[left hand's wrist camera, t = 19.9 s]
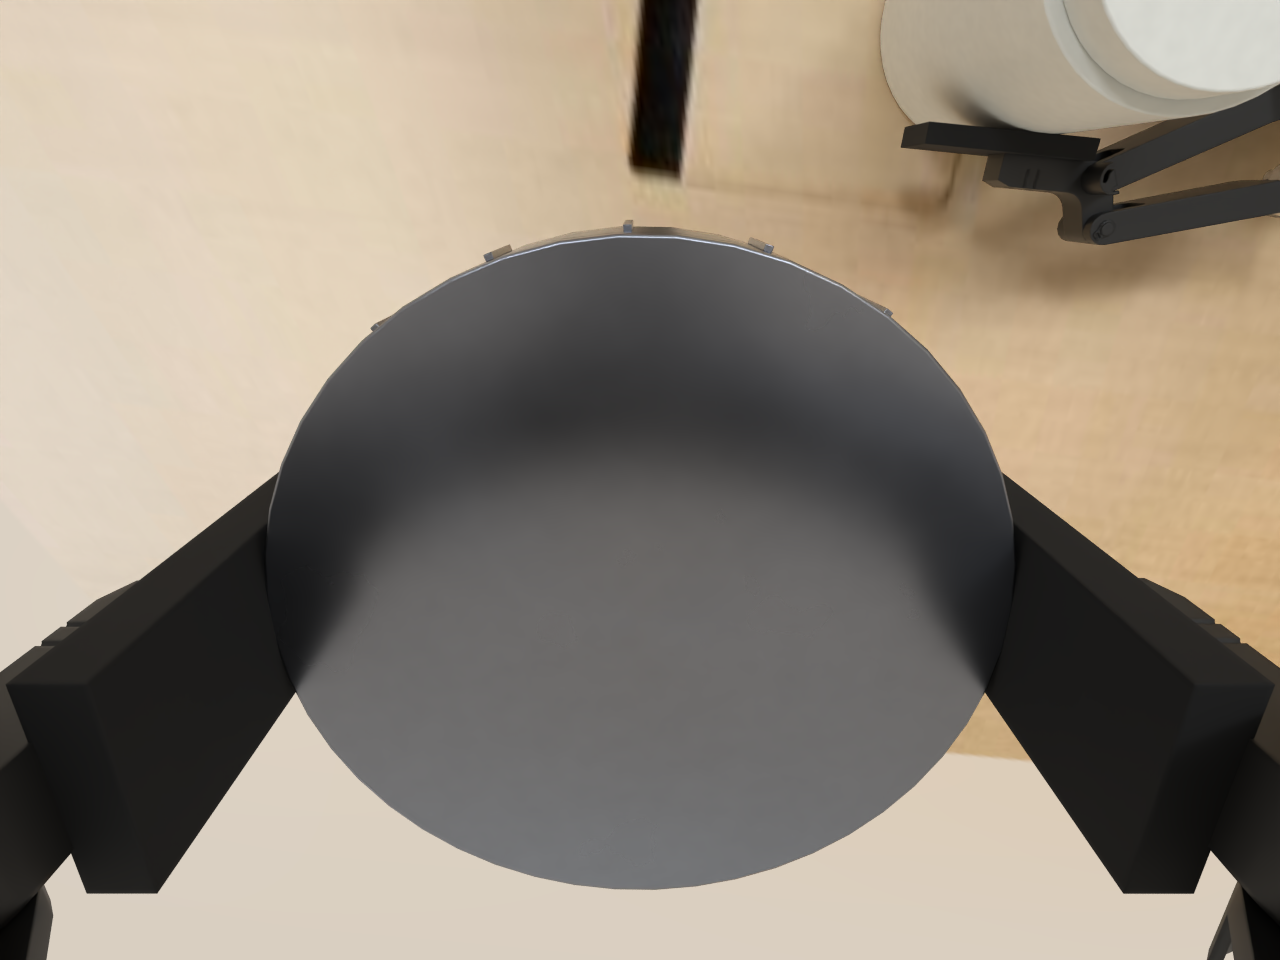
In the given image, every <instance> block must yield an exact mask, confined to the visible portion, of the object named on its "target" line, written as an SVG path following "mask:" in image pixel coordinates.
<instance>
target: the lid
mask: <svg viewBox="0 0 1280 960" xmlns="http://www.w3.org/2000/svg"><path fill="white" fill-rule="evenodd" d="M773 248H774V246H772V245H769V244H767V243H764V242H762V241H760V240H757V239H754V238H751V237H750V239H749V242H748V243H744V242H741V241H738V240H734V239H731V238H728V237H725V236H721V235H717V234H710V233H704V232H698V231H691V230H685V229H679V228H672V227H633V220H626V221H625V222H624V224H623V226H621V227H613V228H605V229H596V230H588V231H580V232H572V233H569V234H565V235H561V236H557V237H554V238H550V239H546V240H542V241H539V242H535V243H531V244H528V245H525V246H522V247H520V248H518V249H515V250H513V251H512V249H511V246H510V245H507V246H505V247H502V248H500V249H497V250H495V251H492V252H490V253H487V254H485V255H484V258H485V260H486V262H485V263H482V264H480V265H478V266H476V267H473V268H471V269H469V270H467V271H465V272H462V273H460V274H458V275H456V276H454V277H451V278H449V279H448V280H446V281H444V282H443V283H441V284H439V285H438V286H436V287H435V288H433V289H431V290H430V291H428V292H426V293H425V294H423V295H421V296H420V297H418V298H416V299H415V300H413V301H411V302H410V303H408V304H406V305H405V306H403V307H402V308H401V309H399V310H398V311H397V312H396V313H395V314H393V315H392V316H390V317H388V318H386V319H383V320H381V321H379V322H377V323H375V324H374V325H373V326H372V327H371V330H372V331H373V332H372V333H371V334H369V335H368V336H367V337H366V338H364V339H363V340H362V341H361V342H360V343H359V344H358V346H357V347H356V348H355V349H354V350H353V351H352V352H351V353H350V354H349V356H348V357H347V358H346V359H345V360H344V361H343V362H342V363H341V365H340V366H339V367H338V368H337V369H336V370H335V371H334V372H333V374H332V375H331V376H330V377H329V378H328V379H327V381H326V382H325V384H324V385H323V387H322V388H321V390H320V392H319V393H318V395H317V396H316V398H315V399H314V401H313V402H312V404H311V405H310V407H309V408H308V410H307V412H306V413H305V415H304V416H303V418H302V419H301V421H300V423H299V425H298V428H297V430H296V432H295V434H294V437H293V439H292V441H291V443H290V446H289V448H288V450H287V452H286V455H285V457H284V459H283V461H282V464H281V467H280V471H279V474H278V478H277V482H276V486H275V489H274V493H273V497H272V501H271V504H270V508H269V517H268V526H267V536H266V545H265V574H266V593H267V598H268V603H269V608H270V612H271V617H272V622H273V626H274V631H275V636H276V640H277V644H278V648H279V652H280V655H281V658H282V660H283V663H284V666H285V669H286V672H287V674H288V677H289V680H290V681H291V683H292V685H293V687H294V689H295V691H296V693H297V695H298V697H299V699H300V701H301V703H302V704H303V707H304V709H305V710H306V712H307V714H308V716H309V717H310V719H311V720H312V722H313V723H314V724H315V726H316V727H317V729H318V730H319V732H320V733H321V734H322V736H323V738H324V739H325V740H326V742H327V743H328V745H329V746H330V748H331V749H332V750H333V751H334V752H335V753H336V755H337V756H338V757H339V758H340V759H341V760H342V761H343V762H344V763H345V764H346V766H347V767H348V768H349V769H350V770H351V771H352V772H353V773H354V775H355V776H356V777H357V778H358V779H359V780H360V781H361V782H362V783H364V784H365V785H366V786H367V787H368V788H369V789H370V790H372V791H373V792H374V793H375V794H376V795H377V796H378V797H380V798H381V799H382V800H383V801H384V802H385V803H386V804H387V805H389V806H390V807H391V808H393V809H394V810H396V811H397V812H399V813H400V814H401V815H403V816H404V817H406V818H407V819H409V820H410V821H411V822H413V823H414V824H416V825H417V826H419V827H420V828H421V829H423V830H425V831H427V832H428V833H430V834H432V835H434V836H436V837H438V838H439V839H441V840H443V841H445V842H447V843H448V844H450V845H452V846H454V847H456V848H458V849H460V850H462V851H464V852H467V853H469V854H472V855H474V856H476V857H479V858H481V859H483V860H486V861H488V862H491V863H493V864H495V865H499V866H502V867H505V868H508V869H511V870H515V871H518V872H521V873H524V874H527V875H531V876H534V877H539V878H544V879H548V880H553V881H558V882H563V883H568V884H573V885H581V886H590V887H599V888H609V889H645V890H657V889H669V888H681V887H693V886H700V885H706V884H712V883H717V882H723V881H728V880H733V879H738V878H742V877H745V876H749V875H752V874H756V873H759V872H763V871H767V870H770V869H773V868H777V867H779V866H782V865H784V864H787V863H789V862H792V861H794V860H797V859H800V858H802V857H805V856H807V855H810V854H812V853H814V852H816V851H818V850H820V849H822V848H824V847H826V846H828V845H830V844H832V843H834V842H836V841H838V840H840V839H842V838H844V837H845V836H847V835H849V834H851V833H852V832H854V831H855V830H857V829H858V828H860V827H861V826H863V825H864V824H866V823H867V822H869V821H871V820H872V819H874V818H875V817H877V816H878V815H880V814H881V813H883V812H884V811H885V810H886V809H888V808H889V807H890V806H891V805H892V804H894V803H895V802H896V801H897V800H898V799H900V798H901V797H902V796H903V795H905V794H906V793H907V792H908V791H909V790H911V789H912V788H913V787H914V786H915V785H916V784H917V783H918V782H919V781H920V780H921V779H922V778H923V777H924V776H925V775H926V774H927V773H928V771H929V770H930V769H931V768H932V767H933V766H934V765H935V764H936V763H937V762H938V761H939V760H940V759H941V758H942V757H943V756H944V754H945V753H946V752H947V750H948V749H949V747H950V746H951V745H952V743H953V742H954V741H955V739H956V738H957V737H958V735H959V734H960V733H961V731H962V730H963V729H964V727H965V726H966V725H967V723H968V721H969V720H970V718H971V716H972V714H973V712H974V711H975V709H976V707H977V705H978V703H979V702H980V700H981V698H982V696H983V695H984V693H985V691H986V689H987V687H988V685H989V682H990V680H991V677H992V675H993V672H994V669H995V667H996V664H997V662H998V659H999V657H1000V654H1001V651H1002V647H1003V643H1004V638H1005V634H1006V629H1007V625H1008V620H1009V616H1010V611H1011V606H1012V601H1013V594H1014V582H1015V570H1016V558H1015V544H1014V529H1013V518H1012V514H1011V509H1010V505H1009V501H1008V496H1007V492H1006V487H1005V483H1004V479H1003V475H1002V472H1001V470H1000V467H999V465H998V462H997V460H996V457H995V455H994V452H993V450H992V447H991V445H990V442H989V440H988V437H987V434H986V432H985V430H984V428H983V427H982V425H981V423H980V422H979V420H978V418H977V417H976V415H975V413H974V412H973V410H972V408H971V407H970V405H969V403H968V402H967V400H966V398H965V396H964V395H963V393H962V391H961V390H960V388H959V387H958V386H957V385H956V384H955V382H954V381H953V380H952V379H951V378H950V376H949V375H948V374H947V373H946V371H945V370H944V369H943V368H942V367H941V365H940V364H939V363H938V362H937V361H936V359H935V358H934V357H933V356H932V355H931V353H930V352H929V351H928V350H927V349H926V348H925V347H924V346H923V345H922V344H920V343H919V342H918V341H917V340H916V339H915V338H914V337H913V336H912V335H910V334H909V333H908V332H907V331H906V330H905V329H904V328H903V327H901V326H900V325H899V324H898V323H897V322H896V321H895V320H894V319H892V318H891V315H892V314H893V313H892V312H891V311H890V310H889V309H887V308H885V307H883V306H881V305H879V304H877V303H875V302H872V301H870V300H868V299H866V298H864V297H862V296H860V295H857V294H856V293H854V292H853V291H851V290H850V289H848V288H847V287H845V286H844V285H842V284H840V283H838V282H836V281H834V280H831V279H829V278H827V277H825V276H823V275H821V274H819V273H816V272H814V271H812V270H810V269H808V268H806V267H804V266H801V265H799V264H797V263H795V262H793V261H791V260H789V259H786V258H784V257H782V256H780V255H778V254H775V253H773V252H772V251H773Z"/></svg>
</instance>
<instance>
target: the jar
mask: <svg viewBox="0 0 1280 960" xmlns="http://www.w3.org/2000/svg"><path fill="white" fill-rule="evenodd" d="M880 46H881V57H882V64H883V69H884V73H885V76H886V80H887V83H888V85H889V88H890V90H891V92H892V95H893V97H894V98H895V100H896V102H897V103H898V105H899V107H900V108H901V109H902V110H903V112H904V113H905V114H906V115H907V117H908V118H909V119H910V120H911V121H912V122H914V123H915V124H916V125H917V124H921V123H925V122H929V121H930V122H940V123H950V124H960V125H970V126H980V127H990V128H1000V129H1010V130H1020V131H1030V132H1040V133H1049V134H1065V133H1073V132H1080V131H1088V130H1095V129H1103V128H1110V127H1118V126H1125V125H1133V124H1140V123H1148V122H1155V121H1163V120H1170V119H1178V118H1185V117H1192V116H1198V115H1204V114H1210V113H1214V112H1218V111H1221V110H1224V109H1228V108H1231V107H1234V106H1237V105H1239V104H1241V103H1244V102H1246V101H1248V100H1250V99H1253V98H1255V97H1257V96H1259V95H1261V94H1263V93H1264V92H1266V91H1268V90H1270V89H1271V88H1273V87H1275V86H1277V85H1278V84H1280V0H886V1H885V5H884V10H883V15H882V21H881V32H880Z"/></svg>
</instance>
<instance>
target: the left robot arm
mask: <svg viewBox="0 0 1280 960" xmlns="http://www.w3.org/2000/svg"><path fill="white" fill-rule="evenodd" d="M278 474H279V472H278V473H277V474H276V475H274V476H273V477H272V478H271V479H269V480H268V481H267V482H265V483H264V484H263V485H262V486H260V487H259V488H258V489H256V490H255V491H254V492H253V493H251V494H250V495H249V496H247V497H246V498H245V499H244V500H242V501H241V502H240V503H238V504H237V505H236V506H235V507H233V508H232V509H231V510H229V511H228V512H227V513H226V514H224V515H223V516H222V517H220V518H219V519H218V520H217V521H215V522H214V523H213V524H211V525H210V526H209V527H207V528H206V529H205V530H204V531H202V532H201V533H200V534H198V535H197V536H196V537H195V538H193V539H192V540H191V541H189V542H188V543H187V544H186V545H184V546H183V547H182V548H180V549H179V550H178V551H177V552H175V553H174V554H173V555H171V556H170V557H169V558H168V559H166V560H165V561H164V562H162V563H161V564H160V565H159V566H157V567H156V568H155V569H153V570H152V571H151V572H150V573H148V574H147V575H146V576H144V577H143V578H142V579H141V580H139V581H135V582H133V583H131V584H129V585H127V586H125V587H123V588H120V589H118V590H116V591H114V592H112V593H110V594H108V595H106V596H104V597H102V598H100V599H97V600H96V601H95V602H93V603H92V604H91V605H89V606H88V607H87V608H85V609H84V610H83V611H81V612H80V613H79V614H77V615H76V616H75V617H73V618H72V619H71V620H69V621H68V622H67V626H66V627H60V628H59V629H57V630H56V631H55V632H53V633H52V634H51V635H49V636H48V637H47V638H45V639H44V640H43V641H42V644H41V646H35V647H33V648H32V649H31V650H29V651H28V652H27V653H25V654H24V655H23V656H21V657H20V658H19V659H17V660H16V661H15V662H13V663H12V664H11V665H9V666H8V667H7V668H5V669H4V670H3V671H1V672H0V960H46V958H47V951H48V945H49V939H50V932H51V926H52V919H53V912H52V906H51V901H50V898H49V895H48V893H47V891H46V888H45V886H44V884H45V883H46V882H47V880H48V879H49V878H50V877H51V876H52V874H53V873H54V872H55V871H56V870H57V869H58V868H59V866H60V865H61V864H62V863H63V862H64V861H65V859H66V858H67V857H68V856H69V855H70V854H72V857H73V859H74V862H75V864H76V867H77V870H78V872H79V875H80V877H81V880H82V882H83V885H84V888H85V890H86V893H158V891H159V890H160V889H161V887H162V886H163V884H164V883H165V881H166V880H167V878H168V877H169V875H170V874H171V872H172V871H173V870H174V868H175V867H176V865H177V864H178V862H179V861H180V859H181V858H182V857H183V855H184V854H185V852H186V851H187V849H188V848H189V846H190V845H191V843H192V842H193V841H194V839H195V838H196V836H197V835H198V833H199V832H200V830H201V829H202V827H203V826H204V825H205V823H206V822H207V820H208V819H209V817H210V816H211V814H212V813H213V812H214V810H215V809H216V807H217V806H218V804H219V803H220V801H221V800H222V798H223V797H224V796H225V794H226V793H227V791H228V790H229V788H230V787H231V785H232V784H233V782H234V781H235V780H236V778H237V777H238V775H239V774H240V772H241V771H242V769H243V768H244V766H245V765H246V764H247V762H248V761H249V759H250V758H251V756H252V755H253V753H254V752H255V750H256V749H257V748H258V746H259V745H260V743H261V742H262V740H263V739H264V737H265V736H266V734H267V733H268V731H269V730H270V729H271V727H272V726H273V724H274V723H275V721H276V720H277V718H278V717H279V716H280V714H281V713H282V711H283V710H284V708H285V707H286V705H287V704H288V702H289V701H290V699H291V698H292V697H293V695H294V694H295V692H296V691H295V689H294V687H293V685H292V683H291V681H290V680H289V677H288V674H287V672H286V669H285V666H284V663H283V660H282V658H281V655H280V652H279V648H278V644H277V640H276V636H275V631H274V626H273V622H272V617H271V612H270V608H269V603H268V598H267V593H266V574H265V545H266V536H267V526H268V517H269V508H270V504H271V501H272V497H273V493H274V489H275V486H276V482H277V478H278ZM1002 475H1003V479H1004V483H1005V487H1006V492H1007V496H1008V501H1009V505H1010V509H1011V514H1012V518H1013V529H1014V544H1015V558H1016V570H1015V582H1014V594H1013V601H1012V606H1011V611H1010V616H1009V620H1008V625H1007V629H1006V634H1005V638H1004V643H1003V647H1002V651H1001V654H1000V657H999V659H998V662H997V664H996V667H995V669H994V672H993V675H992V677H991V680H990V682H989V685H988V687H987V689H986V691H985V693H986V695H987V696H988V697H989V699H990V700H991V702H992V703H993V705H994V706H995V708H996V709H997V711H998V712H999V713H1000V715H1001V716H1002V718H1003V719H1004V721H1005V722H1006V724H1007V725H1008V726H1009V728H1010V729H1011V731H1012V732H1013V734H1014V735H1015V737H1016V738H1017V740H1018V741H1019V742H1020V744H1021V745H1022V747H1023V748H1024V750H1025V751H1026V753H1027V754H1028V756H1029V757H1030V758H1031V760H1032V761H1033V763H1034V764H1035V766H1036V767H1037V769H1038V770H1039V772H1040V773H1041V774H1042V776H1043V777H1044V779H1045V780H1046V782H1047V783H1048V785H1049V786H1050V787H1051V789H1052V790H1053V792H1054V793H1055V795H1056V796H1057V798H1058V799H1059V801H1060V802H1061V804H1062V805H1063V806H1064V808H1065V809H1066V811H1067V812H1068V814H1069V815H1070V817H1071V818H1072V820H1073V821H1074V822H1075V824H1076V825H1077V827H1078V828H1079V830H1080V831H1081V832H1082V834H1083V835H1084V837H1085V838H1086V840H1087V841H1088V843H1089V844H1090V846H1091V847H1092V849H1093V850H1094V852H1095V853H1096V854H1097V856H1098V857H1099V859H1100V860H1101V862H1102V863H1103V865H1104V866H1105V867H1106V869H1107V870H1108V872H1109V873H1110V875H1111V876H1112V877H1113V879H1114V881H1115V882H1116V883H1117V885H1118V886H1119V888H1120V889H1121V891H1122V892H1123V893H1124V894H1194V892H1195V889H1196V887H1197V884H1198V882H1199V879H1200V876H1201V874H1202V871H1203V869H1204V866H1205V864H1206V861H1207V858H1208V856H1209V853H1210V851H1212V852H1213V853H1214V855H1215V856H1216V857H1217V858H1218V859H1219V860H1220V862H1221V863H1222V864H1223V865H1224V866H1225V867H1226V868H1227V870H1228V871H1229V872H1230V873H1231V874H1232V875H1233V877H1234V878H1235V879H1236V880H1237V884H1236V886H1235V888H1234V891H1233V893H1232V895H1231V898H1230V900H1229V903H1228V905H1227V907H1226V910H1225V912H1224V915H1223V917H1222V919H1221V922H1220V924H1219V927H1218V929H1217V931H1216V934H1215V936H1214V939H1213V941H1212V944H1211V946H1210V948H1209V952H1208V957H1207V960H1224V958H1225V955H1226V954H1227V953H1230V952H1232V951H1233V955H1234V960H1280V668H1279V667H1278V666H1276V665H1275V664H1274V663H1272V662H1271V661H1270V660H1268V659H1267V658H1266V657H1264V656H1263V655H1262V654H1260V653H1259V652H1258V651H1256V650H1255V649H1253V648H1252V647H1251V646H1249V645H1248V644H1247V643H1240V638H1239V637H1237V636H1236V635H1235V634H1233V633H1232V632H1231V631H1229V630H1228V629H1227V628H1225V627H1224V626H1223V625H1221V624H1215V619H1213V618H1212V617H1211V616H1209V615H1208V614H1207V613H1205V612H1204V611H1203V610H1201V609H1200V608H1198V607H1197V606H1196V605H1194V604H1193V603H1192V602H1190V601H1189V600H1188V599H1186V598H1185V597H1183V596H1181V595H1179V594H1177V593H1175V592H1173V591H1171V590H1168V589H1166V588H1164V587H1162V586H1160V585H1158V584H1156V583H1154V582H1152V581H1149V580H1147V579H1145V578H1137V577H1136V576H1135V575H1134V574H1132V573H1131V572H1130V571H1128V570H1127V569H1126V568H1125V567H1123V566H1122V565H1121V564H1119V563H1118V562H1117V561H1116V560H1114V559H1113V558H1112V557H1110V556H1109V555H1108V554H1107V553H1105V552H1104V551H1103V550H1101V549H1100V548H1099V547H1097V546H1096V545H1095V544H1094V543H1092V542H1091V541H1090V540H1088V539H1087V538H1086V537H1085V536H1083V535H1082V534H1081V533H1079V532H1078V531H1077V530H1076V529H1074V528H1073V527H1072V526H1070V525H1069V524H1068V523H1067V522H1065V521H1064V520H1063V519H1061V518H1060V517H1059V516H1058V515H1056V514H1055V513H1054V512H1052V511H1051V510H1050V509H1049V508H1047V507H1046V506H1045V505H1043V504H1042V503H1041V502H1040V501H1038V500H1037V499H1036V498H1034V497H1033V496H1032V495H1031V494H1029V493H1028V492H1027V491H1025V490H1024V489H1023V488H1022V487H1020V486H1019V485H1018V484H1016V483H1015V482H1014V481H1012V480H1011V479H1010V478H1009V477H1007V476H1006V475H1005V474H1003V473H1002Z"/></svg>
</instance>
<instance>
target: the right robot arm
mask: <svg viewBox="0 0 1280 960" xmlns="http://www.w3.org/2000/svg"><path fill="white" fill-rule="evenodd" d="M1277 120H1280V84H1278V85H1277V86H1275V87H1273V88H1271V89H1270V90H1268V91H1266V92H1264V93H1263V94H1261V95H1259V96H1257V97H1255V98H1253V99H1250V100H1248V101H1246V102H1244V103H1241V104H1239V105H1237V106H1234V107H1231V108H1228V109H1224V110H1221V111H1218V112H1214V113H1210V114H1204V115H1198V116H1192V117H1185V118H1178V119H1170V120H1166V121H1164V122H1162V123H1160V124H1157V125H1155V126H1153V127H1151V128H1148V129H1146V130H1144V131H1142V132H1139V133H1137V134H1135V135H1133V136H1130V137H1128V138H1126V139H1124V140H1121V141H1119V142H1117V143H1115V144H1112V145H1110V146H1108V147H1106V148H1103V149H1101V150H1099V151H1097V149H1098V146H1099V143H1100V139H1099V138H1089V137H1079V136H1069V135H1060V134H1049V133H1040V132H1030V131H1020V130H1010V129H1000V128H990V127H980V126H970V125H960V124H950V123H940V122H930V121H929V122H925V123H921V124H917V125H912V126H908V127H905V129H904V134H903V139H902V144H901V148H910V149H920V150H931V151H941V152H951V153H961V154H971V155H981V156H988V159H987V163H986V168H985V172H984V176H983V180H982V181H984V182H986V183H987V184H989V185H991V186H992V187H998V188H1009V189H1019V190H1029V191H1039V192H1049V193H1053V194H1055V195H1056V196H1058V198H1059V199H1060V200H1061V202H1062V207H1063V217H1062V218H1061V220H1060V222H1059V223H1058V228H1057V230H1058V235H1059V236H1060V237H1061V239H1063V240H1065V241H1072V242H1080V243H1088V244H1097V245H1107V244H1112V243H1118V242H1123V241H1129V240H1134V239H1139V238H1145V237H1150V236H1156V235H1161V234H1167V233H1172V232H1178V231H1183V230H1189V229H1194V228H1199V227H1205V226H1210V225H1216V224H1221V223H1227V222H1232V221H1238V220H1243V219H1249V218H1254V217H1260V216H1265V215H1266V216H1272V217H1280V164H1279V165H1278V166H1276V168H1275V169H1272V170H1269V171H1268V172H1266V173H1265V175H1264V177H1263V180H1242V181H1233V182H1227V183H1222V184H1216V185H1211V186H1205V187H1200V188H1195V189H1189V190H1184V191H1179V192H1173V193H1168V194H1163V195H1157V196H1152V197H1147V198H1141V199H1136V200H1130V201H1125V202H1120V203H1114V204H1113V195H1116V194H1119V191H1115V190H1117V189H1119V188H1121V187H1124V186H1126V185H1128V184H1131V183H1133V182H1135V181H1138V180H1140V179H1142V178H1145V177H1147V176H1149V175H1151V174H1154V173H1156V172H1158V171H1161V170H1163V169H1165V168H1168V167H1170V166H1172V165H1174V164H1177V163H1179V162H1181V161H1184V160H1186V159H1188V158H1191V157H1193V156H1195V155H1197V154H1200V153H1202V152H1204V151H1207V150H1209V149H1211V148H1214V147H1216V146H1218V145H1221V144H1223V143H1225V142H1227V141H1230V140H1232V139H1234V138H1237V137H1239V136H1241V135H1244V134H1246V133H1248V132H1250V131H1253V130H1255V129H1257V128H1260V127H1262V126H1264V125H1267V124H1269V123H1271V122H1274V121H1277Z"/></svg>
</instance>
